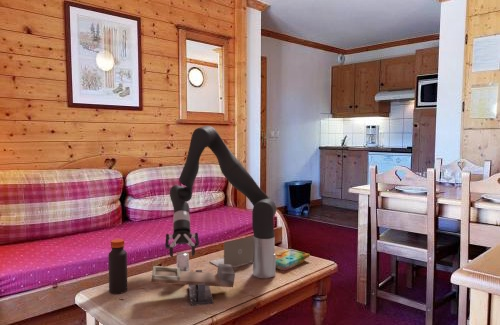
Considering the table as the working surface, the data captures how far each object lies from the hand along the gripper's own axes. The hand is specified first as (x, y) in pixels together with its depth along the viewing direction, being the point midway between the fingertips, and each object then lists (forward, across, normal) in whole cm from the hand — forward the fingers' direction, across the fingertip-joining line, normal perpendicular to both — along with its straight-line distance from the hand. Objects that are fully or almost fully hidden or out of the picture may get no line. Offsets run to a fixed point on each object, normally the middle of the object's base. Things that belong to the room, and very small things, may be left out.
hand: (182, 256), depth 159 cm
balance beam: (+15, +3, -10) cm, 19 cm away
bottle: (+13, -25, +1) cm, 28 cm away
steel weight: (+10, 0, +4) cm, 11 cm away
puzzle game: (0, +50, +14) cm, 52 cm away
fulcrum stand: (+20, +6, -6) cm, 21 cm away
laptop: (-4, +24, +19) cm, 31 cm away
